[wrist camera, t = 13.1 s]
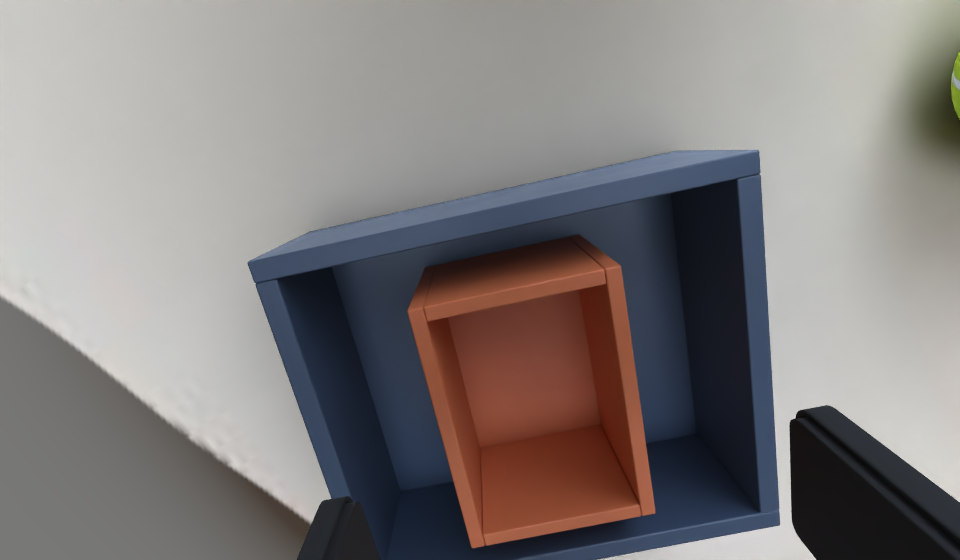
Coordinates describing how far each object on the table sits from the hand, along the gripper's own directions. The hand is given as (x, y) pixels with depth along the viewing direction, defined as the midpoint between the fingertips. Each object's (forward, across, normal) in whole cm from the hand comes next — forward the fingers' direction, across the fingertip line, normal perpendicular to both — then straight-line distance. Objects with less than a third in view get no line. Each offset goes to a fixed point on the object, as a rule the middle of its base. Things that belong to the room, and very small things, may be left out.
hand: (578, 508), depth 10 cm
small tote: (+10, 0, +1) cm, 10 cm away
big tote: (+11, 0, +1) cm, 11 cm away
